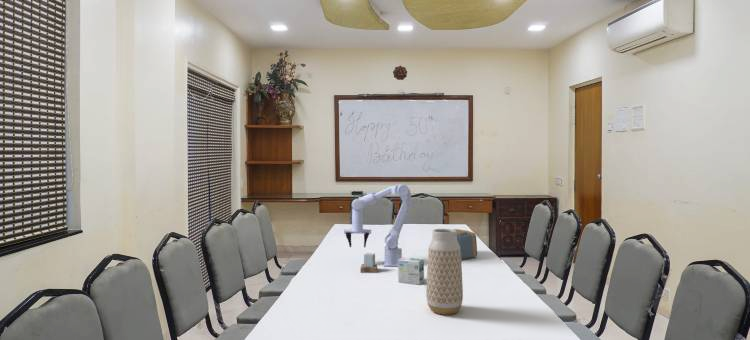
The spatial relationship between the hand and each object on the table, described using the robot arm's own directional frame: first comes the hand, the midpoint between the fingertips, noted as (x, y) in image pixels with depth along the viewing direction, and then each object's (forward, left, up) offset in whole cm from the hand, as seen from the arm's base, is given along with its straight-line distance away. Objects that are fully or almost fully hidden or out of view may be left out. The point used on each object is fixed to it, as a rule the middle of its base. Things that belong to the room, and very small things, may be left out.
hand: (357, 246), depth 245 cm
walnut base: (-7, +11, -10) cm, 17 cm away
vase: (-40, +68, -10) cm, 80 cm away
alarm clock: (-56, -22, -10) cm, 61 cm away
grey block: (-7, +11, -7) cm, 15 cm away
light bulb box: (-28, +30, -10) cm, 42 cm away
